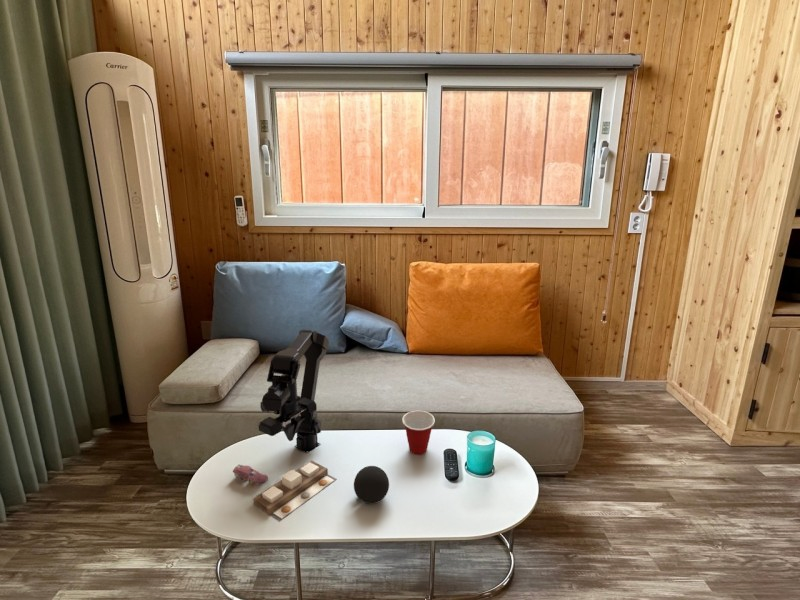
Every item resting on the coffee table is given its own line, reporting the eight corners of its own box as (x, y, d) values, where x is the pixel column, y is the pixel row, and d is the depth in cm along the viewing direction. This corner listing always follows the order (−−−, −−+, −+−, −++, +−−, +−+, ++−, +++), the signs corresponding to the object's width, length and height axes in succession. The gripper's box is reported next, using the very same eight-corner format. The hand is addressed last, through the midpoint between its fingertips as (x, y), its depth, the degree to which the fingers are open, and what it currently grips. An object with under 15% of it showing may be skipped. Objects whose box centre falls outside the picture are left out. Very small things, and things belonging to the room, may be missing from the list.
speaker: (347, 506, 130) (347, 475, 128) (363, 484, 139) (363, 455, 137) (380, 515, 127) (380, 484, 124) (394, 493, 136) (394, 463, 133)
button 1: (274, 494, 134) (273, 485, 133) (283, 500, 131) (282, 491, 130) (262, 502, 130) (262, 493, 130) (272, 508, 128) (271, 499, 127)
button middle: (292, 478, 139) (292, 469, 138) (302, 483, 136) (301, 474, 135) (282, 485, 135) (281, 476, 135) (291, 490, 133) (290, 481, 132)
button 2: (310, 470, 144) (310, 462, 144) (319, 475, 142) (319, 467, 141) (300, 477, 141) (300, 468, 140) (309, 482, 139) (309, 473, 138)
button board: (311, 467, 147) (311, 460, 146) (337, 480, 141) (337, 473, 140) (253, 506, 130) (253, 498, 129) (279, 523, 124) (278, 515, 123)
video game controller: (237, 482, 142) (227, 470, 138) (246, 468, 145) (237, 456, 141) (261, 492, 138) (252, 480, 134) (270, 478, 141) (261, 466, 136)
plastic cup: (399, 458, 152) (400, 425, 149) (404, 440, 162) (404, 409, 159) (432, 461, 151) (433, 428, 147) (435, 442, 161) (436, 411, 158)
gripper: (291, 376, 150) (293, 419, 154) (243, 399, 135) (248, 446, 139) (316, 385, 144) (318, 429, 148) (270, 410, 129) (274, 459, 133)
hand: (290, 440), depth 142 cm, fingers closed
